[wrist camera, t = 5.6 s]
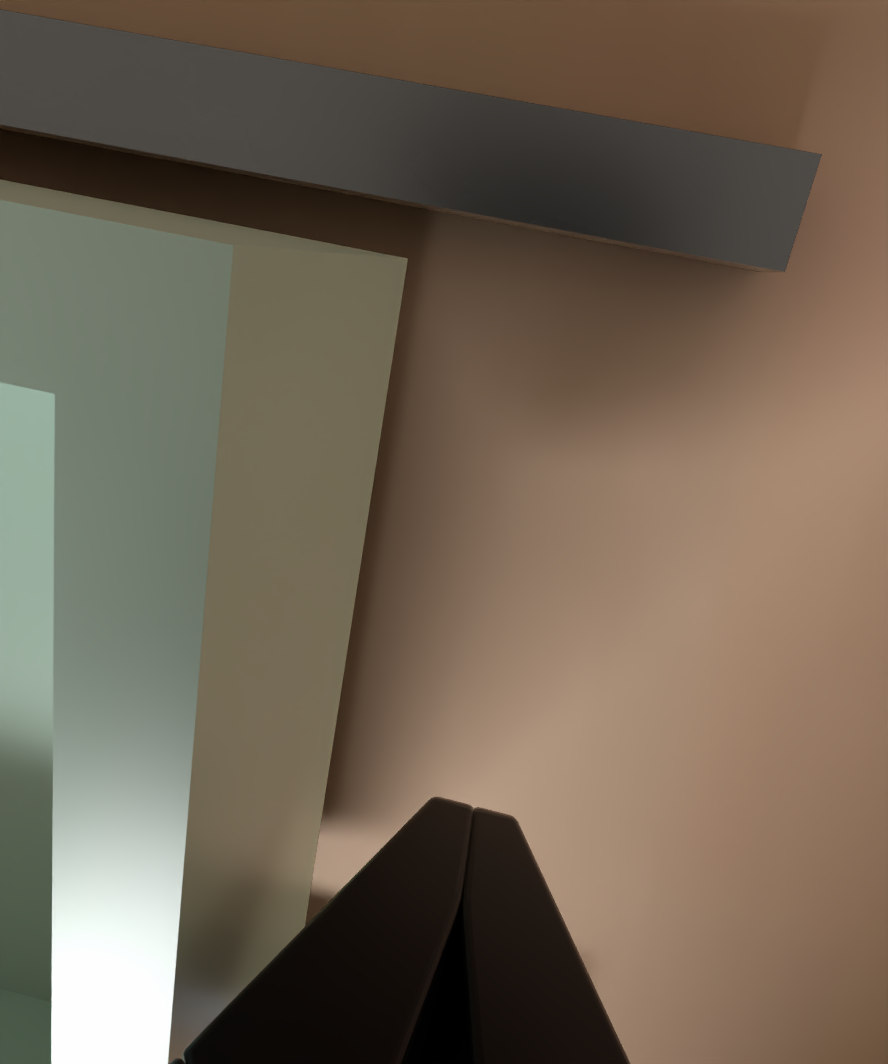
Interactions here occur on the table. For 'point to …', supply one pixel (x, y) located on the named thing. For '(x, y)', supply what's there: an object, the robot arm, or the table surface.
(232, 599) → the sage green storage bin
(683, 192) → the rails
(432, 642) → the table surface
